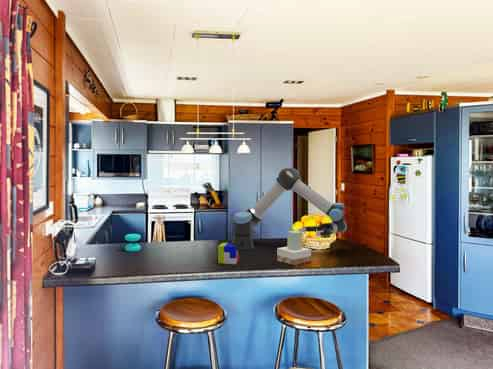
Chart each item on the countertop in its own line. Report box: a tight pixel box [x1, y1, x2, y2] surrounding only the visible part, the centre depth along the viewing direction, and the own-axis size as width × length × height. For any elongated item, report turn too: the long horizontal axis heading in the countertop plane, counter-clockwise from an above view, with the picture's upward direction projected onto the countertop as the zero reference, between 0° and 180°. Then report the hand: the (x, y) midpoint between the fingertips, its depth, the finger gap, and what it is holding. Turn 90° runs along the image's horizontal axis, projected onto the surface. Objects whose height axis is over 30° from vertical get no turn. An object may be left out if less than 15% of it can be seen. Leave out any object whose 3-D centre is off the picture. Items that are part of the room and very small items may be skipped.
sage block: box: [286, 230, 303, 250], centre depth 241 cm, size 6×6×10 cm
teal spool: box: [124, 233, 142, 252], centre depth 266 cm, size 10×10×10 cm
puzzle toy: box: [217, 242, 240, 265], centre depth 239 cm, size 10×10×10 cm
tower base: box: [276, 254, 312, 266], centre depth 242 cm, size 14×14×4 cm
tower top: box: [276, 246, 312, 260], centre depth 241 cm, size 14×14×4 cm
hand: (307, 232), depth 248 cm, fingers open, 13 cm apart
